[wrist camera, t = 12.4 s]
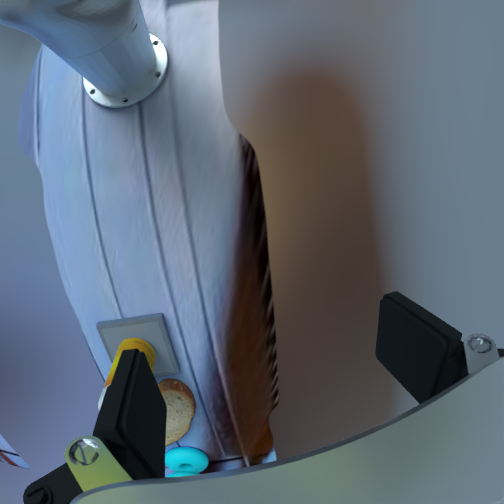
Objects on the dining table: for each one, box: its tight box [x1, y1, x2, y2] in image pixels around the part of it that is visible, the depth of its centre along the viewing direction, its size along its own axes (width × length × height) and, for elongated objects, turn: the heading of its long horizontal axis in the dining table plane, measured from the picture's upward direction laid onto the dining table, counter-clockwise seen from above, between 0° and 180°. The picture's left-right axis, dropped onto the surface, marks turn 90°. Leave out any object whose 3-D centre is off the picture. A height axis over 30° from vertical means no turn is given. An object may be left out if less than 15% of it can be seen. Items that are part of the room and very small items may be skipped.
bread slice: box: [157, 378, 196, 447], centre depth 44 cm, size 18×18×4 cm
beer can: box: [98, 338, 156, 411], centre depth 33 cm, size 6×6×15 cm
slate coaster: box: [96, 313, 180, 377], centre depth 41 cm, size 11×11×1 cm
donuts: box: [165, 447, 209, 477], centre depth 45 cm, size 10×10×10 cm
